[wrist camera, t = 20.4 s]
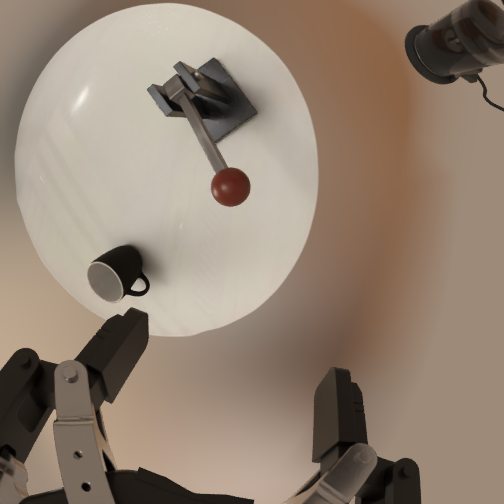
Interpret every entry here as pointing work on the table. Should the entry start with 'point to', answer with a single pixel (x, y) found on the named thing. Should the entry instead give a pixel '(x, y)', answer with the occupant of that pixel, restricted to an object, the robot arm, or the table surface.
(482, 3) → the robot arm
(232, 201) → the lever
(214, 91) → the bracket
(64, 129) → the table surface
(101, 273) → the mug
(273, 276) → the table surface
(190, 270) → the table surface
